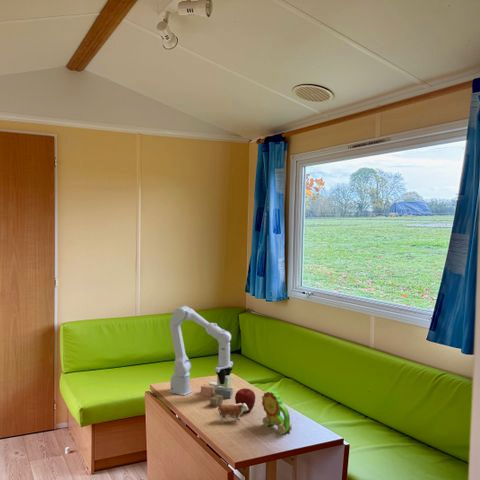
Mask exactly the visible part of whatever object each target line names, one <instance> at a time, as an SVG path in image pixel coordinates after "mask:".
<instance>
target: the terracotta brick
mask: <svg viewBox="0 0 480 480" xmlns="http://www.w3.org/2000/svg"><path fill="white" fill-rule="evenodd" d="M200 394H201V395H205V396H209V397H211V396H213V395H215V392H214V386H210V385H209V384H202V385H201V386H200Z"/></svg>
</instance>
